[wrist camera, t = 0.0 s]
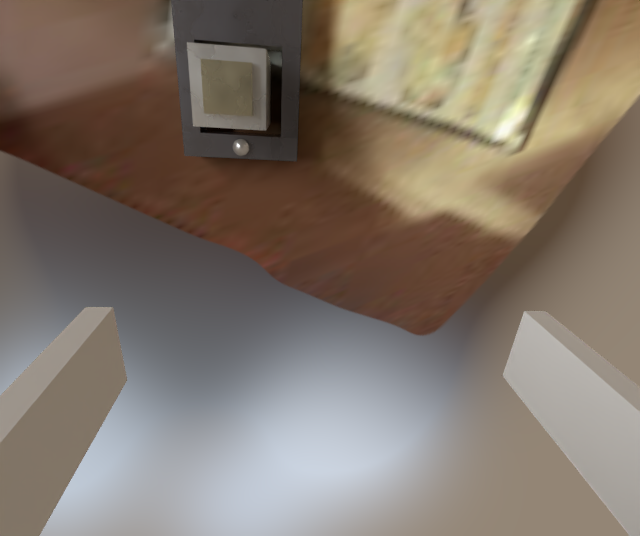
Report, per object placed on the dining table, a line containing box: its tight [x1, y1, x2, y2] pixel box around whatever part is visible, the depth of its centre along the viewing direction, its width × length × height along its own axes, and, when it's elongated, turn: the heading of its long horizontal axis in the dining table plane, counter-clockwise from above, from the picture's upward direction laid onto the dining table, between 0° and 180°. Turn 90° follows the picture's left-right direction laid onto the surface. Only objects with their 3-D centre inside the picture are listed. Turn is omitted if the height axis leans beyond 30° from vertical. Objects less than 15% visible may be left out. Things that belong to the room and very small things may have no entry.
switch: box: [171, 0, 303, 161], centre depth 27 cm, size 22×10×11 cm, turn 176°
